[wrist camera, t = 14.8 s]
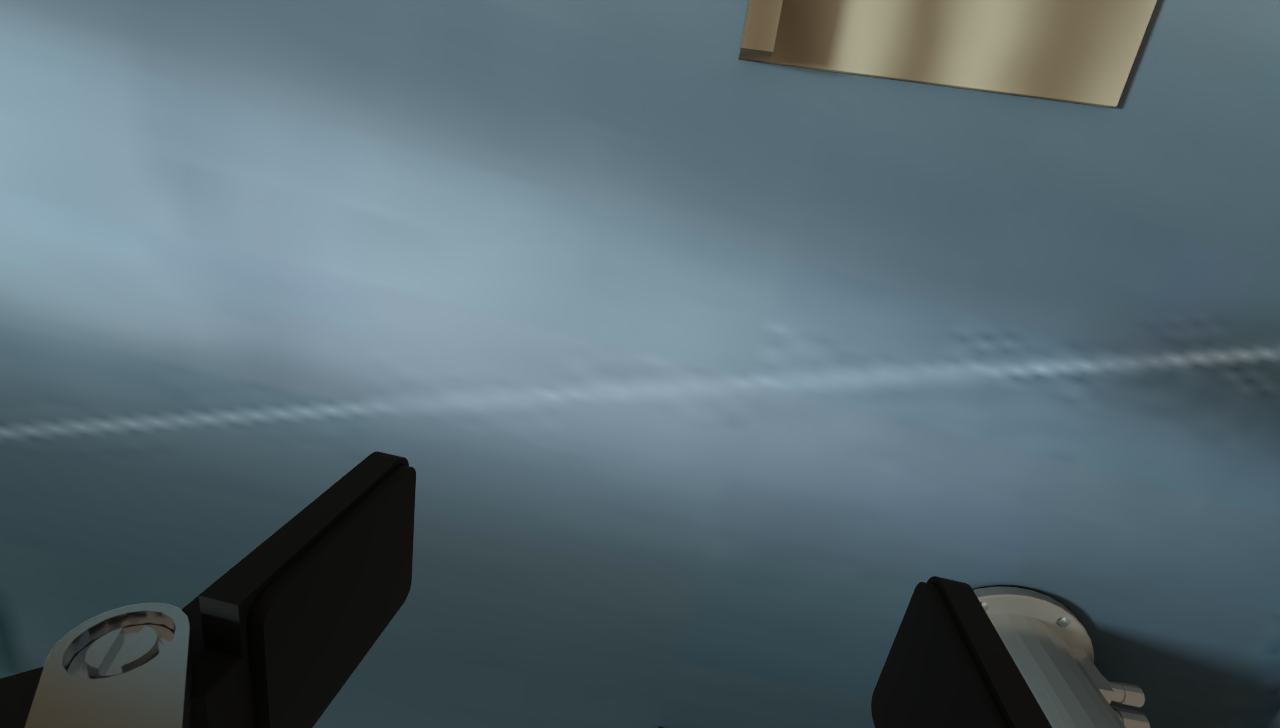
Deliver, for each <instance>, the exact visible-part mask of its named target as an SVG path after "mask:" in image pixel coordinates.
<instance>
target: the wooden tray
mask: <svg viewBox="0 0 1280 728" xmlns="http://www.w3.org/2000/svg"><path fill="white" fill-rule="evenodd" d="M1156 2H1157V0H749V2H748V8H747V14H746V20H745V25H744V31H743V37H742V43H741V49H740V55H739V60H746V61H754V62H762V63H769V64H777V65H785V66H793V67H800V68H808V69H816V70H824V71H831V72H839V73H847V74H855V75H862V76H870V77H878V78H886V79H893V80H901V81H909V82H917V83H924V84H932V85H940V86H947V87H955V88H963V89H971V90H978V91H986V92H994V93H1002V94H1009V95H1017V96H1025V97H1033V98H1040V99H1048V100H1056V101H1064V102H1071V103H1079V104H1087V105H1095V106H1102V107H1117V104H1118V102H1119V99H1120V96H1121V94H1122V91H1123V89H1124V86H1125V83H1126V81H1127V78H1128V75H1129V73H1130V70H1131V68H1132V65H1133V62H1134V60H1135V57H1136V54H1137V52H1138V49H1139V47H1140V44H1141V41H1142V39H1143V36H1144V33H1145V31H1146V28H1147V25H1148V23H1149V20H1150V18H1151V15H1152V12H1153V10H1154V7H1155V4H1156Z"/></svg>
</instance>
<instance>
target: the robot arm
mask: <svg viewBox="0 0 1280 728" xmlns="http://www.w3.org/2000/svg"><path fill="white" fill-rule="evenodd" d="M415 485H416V471H415V469H414V468H413V467H409V463H408V461H407V459H406V458H404V457H400V456H395V455H391V454H386V453H382V452H374V453H372V454H370V455H369V456H368V457H367V458H366V459H364V460H363V461H362V462H361V463H359V464H358V465H357V466H356V467H355V468H353V469H352V470H351V471H350V472H348V473H347V474H346V475H345V476H344V477H342V478H341V479H340V480H339V481H337V482H336V483H335V484H334V485H333V486H331V487H330V488H329V489H328V490H327V491H325V492H324V493H323V494H322V495H320V496H319V497H318V498H317V499H316V500H314V501H313V502H312V503H311V504H309V505H308V506H307V507H306V508H305V509H303V510H302V511H301V512H300V513H298V514H297V515H296V516H295V517H294V518H292V519H291V520H290V521H289V522H288V523H286V524H285V525H284V526H283V527H281V528H280V529H279V530H278V531H277V532H275V533H274V534H273V535H272V536H270V537H269V538H268V539H267V540H266V541H264V542H263V543H262V544H261V545H259V546H258V547H257V548H256V549H255V550H253V551H252V552H251V553H250V554H249V555H247V556H246V557H245V558H244V559H242V560H241V561H240V562H239V563H238V564H236V565H235V566H234V567H233V568H231V569H230V570H229V571H228V572H227V573H225V574H224V575H223V576H222V577H220V578H219V579H218V580H217V581H216V582H214V583H213V584H212V585H211V586H210V587H208V588H207V589H206V590H205V591H203V592H202V593H201V594H200V595H199V596H198V597H196V598H195V599H194V600H193V601H192V602H190V603H189V604H188V605H187V606H185V607H184V608H183V609H182V610H181V609H180V608H177V607H174V606H171V605H169V604H163V603H142V604H134V605H128V606H124V607H121V608H117V609H114V610H110V611H107V612H105V613H103V614H100V615H98V616H96V617H94V618H92V619H89V620H87V621H85V622H84V623H82V624H81V625H79V626H78V627H76V628H75V629H73V630H72V631H70V632H68V633H67V634H66V635H65V636H64V637H63V638H62V639H61V640H60V641H59V642H58V643H57V644H56V645H55V646H54V647H53V649H52V651H51V652H50V654H49V656H48V658H47V659H46V662H45V665H44V667H41V668H37V669H34V670H30V671H26V672H23V673H19V674H16V675H12V676H9V677H5V678H2V679H0V728H312V727H313V726H314V725H315V723H316V722H317V721H318V719H319V718H320V716H321V715H322V714H323V712H324V711H325V710H326V708H327V707H328V705H329V704H330V703H331V701H332V700H333V699H334V697H335V696H336V695H337V693H338V692H339V690H340V689H341V688H342V686H343V685H344V684H345V682H346V681H347V680H348V678H349V677H350V675H351V674H352V673H353V671H354V670H355V669H356V667H357V666H358V665H359V663H360V662H361V660H362V659H363V658H364V656H365V655H366V654H367V652H368V651H369V650H370V648H371V647H372V645H373V644H374V643H375V641H376V640H377V639H378V637H379V636H380V635H381V633H382V632H383V630H384V629H385V628H386V626H387V625H388V624H389V622H390V621H391V620H392V618H393V617H394V615H395V614H396V613H397V611H398V610H399V609H400V607H401V606H402V605H403V603H404V601H405V600H406V598H407V596H408V593H409V590H410V587H411V580H412V556H413V533H414V509H415ZM1111 701H1115V702H1117V703H1120V704H1125V705H1130V706H1135V707H1142V706H1143V705H1144V702H1145V697H1144V693H1143V691H1142V689H1141V688H1140V687H1139V686H1137V685H1132V684H1127V683H1122V682H1112V681H1107V679H1106V678H1105V677H1104V676H1102V674H1101V673H1100V672H1099V670H1098V669H1097V667H1096V666H1095V665H1094V650H1093V646H1092V641H1091V639H1090V637H1089V635H1088V633H1087V631H1086V630H1085V628H1084V627H1083V625H1082V624H1081V623H1080V622H1079V620H1078V619H1077V618H1076V616H1075V615H1074V614H1073V613H1072V612H1071V611H1070V610H1068V609H1067V608H1066V607H1065V606H1064V605H1063V604H1061V603H1059V602H1058V601H1056V600H1054V599H1053V598H1051V597H1049V596H1047V595H1044V594H1041V593H1038V592H1036V591H1033V590H1028V589H1022V588H1017V587H987V588H978V589H975V590H973V589H972V588H971V587H970V585H968V584H966V583H962V582H958V581H953V580H949V579H945V578H940V577H936V576H934V577H931V578H930V579H929V580H928V581H927V583H924V582H920V583H919V584H918V585H917V586H916V588H915V590H914V593H913V595H912V598H911V600H910V603H909V605H908V608H907V610H906V613H905V615H904V618H903V620H902V623H901V625H900V628H899V630H898V633H897V635H896V638H895V640H894V642H893V645H892V647H891V650H890V652H889V655H888V657H887V660H886V662H885V665H884V667H883V670H882V672H881V675H880V677H879V680H878V682H877V685H876V687H875V690H874V692H873V696H872V704H871V709H872V717H873V721H874V725H875V728H1150V724H1149V721H1148V720H1147V718H1146V716H1145V715H1144V714H1143V713H1142V712H1140V711H1136V710H1131V709H1126V708H1121V707H1116V706H1111V705H1110V703H1111Z"/></svg>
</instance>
